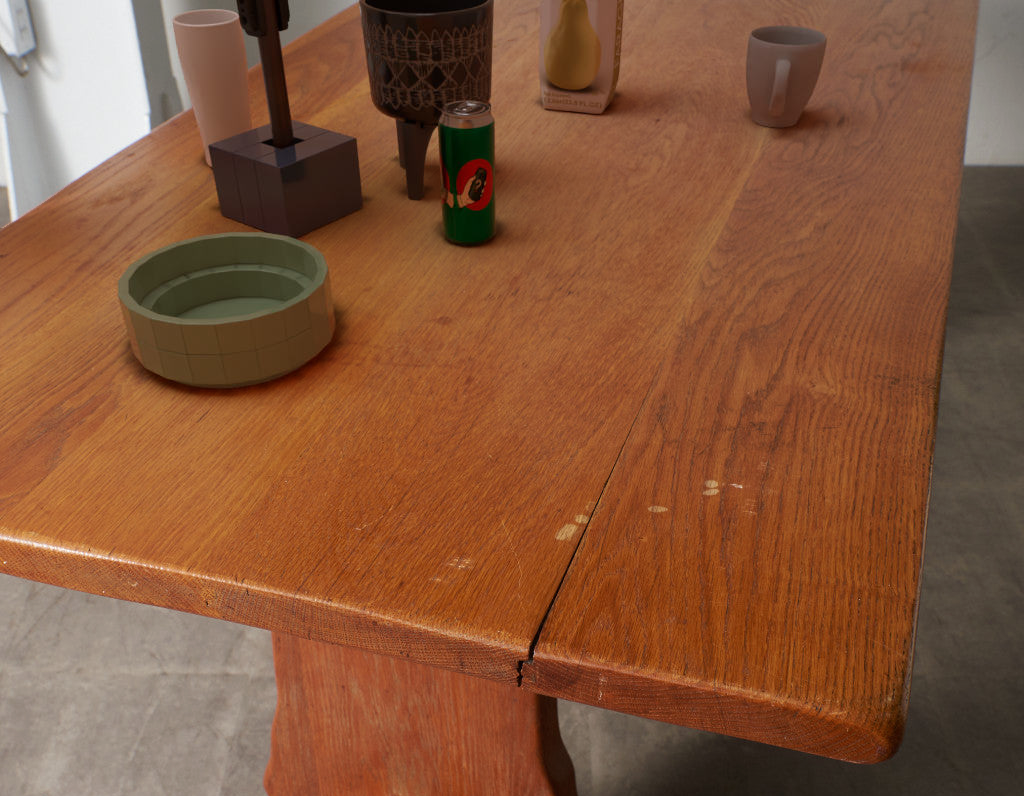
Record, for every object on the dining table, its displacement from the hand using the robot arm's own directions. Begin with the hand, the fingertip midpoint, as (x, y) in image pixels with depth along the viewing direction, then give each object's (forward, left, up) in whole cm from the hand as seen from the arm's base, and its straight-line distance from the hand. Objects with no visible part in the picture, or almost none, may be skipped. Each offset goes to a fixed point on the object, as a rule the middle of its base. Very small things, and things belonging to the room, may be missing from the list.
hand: (266, 31), depth 91 cm
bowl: (+16, -21, -17) cm, 31 cm away
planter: (+6, +15, -17) cm, 23 cm away
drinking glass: (-15, +5, -17) cm, 23 cm away
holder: (0, 0, -17) cm, 17 cm away
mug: (+27, +53, -17) cm, 62 cm away
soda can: (+18, +6, -17) cm, 26 cm away
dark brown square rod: (0, 0, -15) cm, 15 cm away
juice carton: (+4, +45, -17) cm, 48 cm away
